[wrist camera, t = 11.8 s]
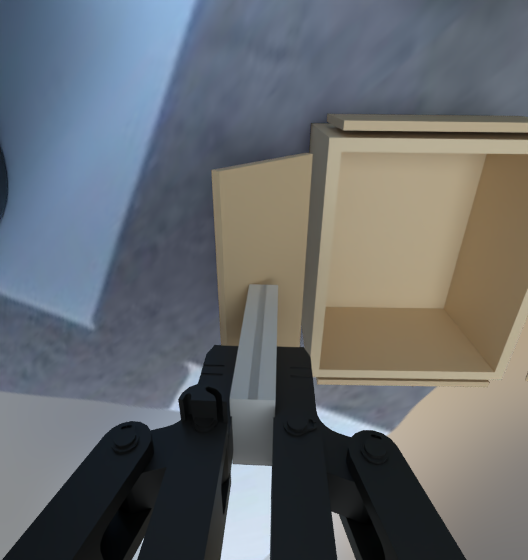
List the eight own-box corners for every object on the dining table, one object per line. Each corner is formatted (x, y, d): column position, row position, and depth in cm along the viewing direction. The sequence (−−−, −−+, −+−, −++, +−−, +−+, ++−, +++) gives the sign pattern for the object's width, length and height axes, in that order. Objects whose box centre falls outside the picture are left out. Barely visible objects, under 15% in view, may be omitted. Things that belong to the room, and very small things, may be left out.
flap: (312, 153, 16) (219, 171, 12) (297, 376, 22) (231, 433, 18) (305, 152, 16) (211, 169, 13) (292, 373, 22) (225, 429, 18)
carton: (298, 316, 30) (308, 385, 23) (311, 111, 23) (331, 120, 16) (444, 318, 30) (498, 388, 23) (502, 113, 23) (605, 123, 16)
